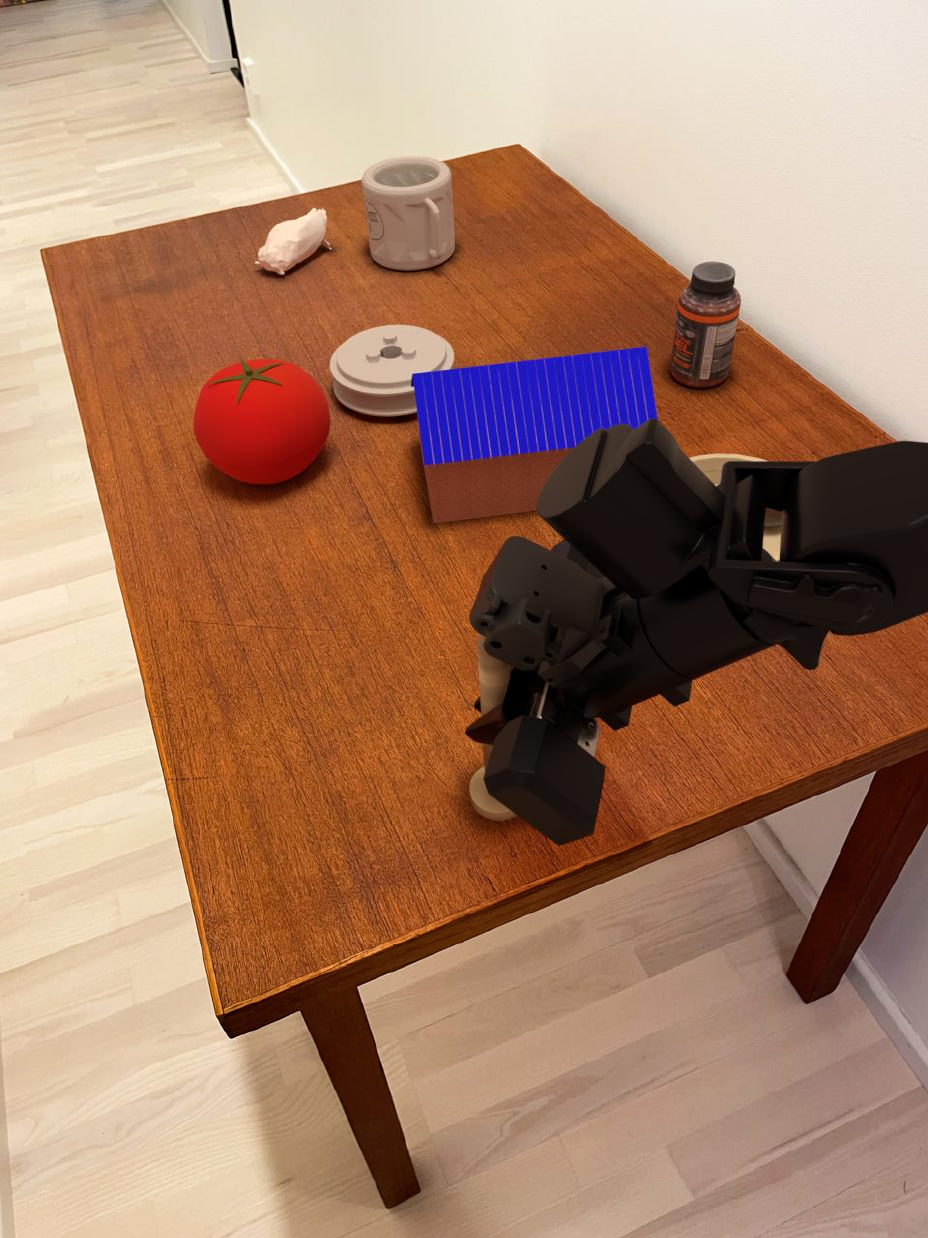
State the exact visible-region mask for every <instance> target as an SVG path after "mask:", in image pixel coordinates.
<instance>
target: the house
mask: <svg viewBox="0 0 928 1238" xmlns="http://www.w3.org/2000/svg"><path fill="white" fill-rule="evenodd" d="M411 387H414V391H415V399H416V407H417V412H416V415H417V417H416V418H417V425H418V436H419V447H420V453H421V459H422V465H423V470H424V471H423V472H424V476H425V481H426V487H427V488H426V489H427V493H428V499H429V505H430V510H431V511H430V512H431V517H432V523H433V524H440V523H448V522H449V523H450V522H457V521H465V520H472V519H481V518H489V517H497V516H505V515H513V514H520V513H529V512H537V510H536V506H537V500H538V497H539V494H540V492H541V490H542V488H543V486H544V484H545V483H546V481H547V480H548V478H549V477H550V475H551V474H552V472H553V471H554V470H555V469H556V467H557V466H558V465H559V463H560V462H561V461H562V460H563V459H564V458H565V457H566V456H567V455H568V454H569V452H570V451H572V450H573V449H574V448H575V447H576V446H577V445H578V444H579V443H580V442H581V441H583V440H584V439H585V438H586V437H588V436H589V435H590V434H592V433H593V432H595V431H596V430H598V429H599V428H603V429H604V430H605V429H608V428H610V427H612V426H614V425H618V424H629V425H630V426H631V427H632V428H633V429H635V428H637V427H638V426H640V425H641V424H643V423H644V422H646V421H647V420H649V419H650V418H654V419H658V413H657V406H656V400H655V393H654V387H653V381H652V373H651V367H650V359H649V354H648V347H647V346H640V347H631V348H624V349H613V350H604V351H596V352H587V353H579V354H571V355H561V356H552V357H545V358H536V359H535V358H534V359H528V360H527V359H526V360H519V361H510V362H502V363H501V362H500V363H494V364H484V365H474V366H467V367H458V368H453V369H448V370H440V371H431V372H422V373H414V374H412V380H411Z"/></svg>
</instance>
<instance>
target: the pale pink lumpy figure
mask: <svg viewBox="0 0 928 1238" xmlns="http://www.w3.org/2000/svg"><path fill="white" fill-rule="evenodd" d="M327 225H328V216H327V211H326V210H325V209H324V207H322V208H321V209H320V208H318V209H317V208H316V207H312V209H311V210H310V211H309V212H308V213H307V214H305V215H302V216H299V217H298V218H296V219H290V220H285V221H281V222H280V223H277V224H276V225H274V226H273V227H272V228H271V230H270V231H269V232H268V235H267V237H266V240H265V244H264V245H263V246H262V247H260V248H259V249H258V252H257V255H258V256H257V259H258V260H256V261H255V262H254V264H255V265H258V266H260V267H262V268H264V269H265V270H266V271H268V272H275V273H276V274H278V275H280V276H284V275H285V272H287V271H288V270H291V269H292V268H293V267H295V266H296V264H300V263H302V262H303V261H305V260H306V259H307V258H309V257H310V256H312V255H313V254H314V253H316V251H317V250H318V248H319V247H322V246H323V247H324V248H326V249H328V250H329V251H332V249H333V248H332V247H331V244H330V242H329V241H328V240H327V239H325V235H326V232H327Z"/></svg>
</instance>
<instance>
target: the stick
mask: <svg viewBox="0 0 928 1238" xmlns="http://www.w3.org/2000/svg"><path fill="white" fill-rule="evenodd" d="M485 638H486V637H485V636H483V635H481V634H479V636H478V638H477V642H476V648H477V666H478V683H479V684H478V685H479V696H480V701H481V713H480V717H481V716H483V715H485V714H486V713H488V712H489V711H491V710H492V709H494V708H496V707H497V706H499V705H500V704H502V701H503V698H504V694H505V691H506V688H507V685H508V681H509V678H510V665H509V664H507V663H505V662H502V661H500V660H498V659H496V658H494V657H492V656H490V655H488V654H487V653H486V651H485V649H484V647H483V644H484V641H485ZM482 747H483V748H482V749H483V750H482V751H483V766H482V767H479V769H477V770H476V771H475V772H474V774H472V777H471V778H470V781H469V784H468V785H469V786H468V792H469V801H470V804H471V806H472V809H474V811H475V812H476V813H477V814H478V815H480V816H481V817H483V818H484V819H487V820H490V821H495V822H504V821H509V820H512V819H514V818H516V817H518V816H517V815H516V814H515V813H513V812H512V811H511V810H509V809H508V808H507V807H505V806H504V805H503V804H501V803H500V802H499V801H497V800H496V799H495V798H493V797H492V796H491V795H489V794H488V791H487V788H486V785H485V782H484V780H483V778H484V774H485V771H486V768H487V764H488V761H489V758H490V754H491V751H492V748H493V745H489V744H482Z"/></svg>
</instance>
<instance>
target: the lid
mask: <svg viewBox="0 0 928 1238" xmlns="http://www.w3.org/2000/svg"><path fill="white" fill-rule="evenodd" d="M329 360H330V361H329V370H330V374H331V376H332V378H333V384H332V388H333V392H334V395H335V397H336V398H337V400H338V401H339V402H340V403H341V404H342V405H343V406H345V407H346V408H348V409H350V410H352V411H354V412H356V413H361V414H362V415H368V416H374V417H399V416H407V415H411V414H415V413H416V414H417V407H416V399H415V391H414V387H411V380H412V374H414V373H422V372H431V371H440V370H448V369H454V367H453V366H454V364H455V352H454V349H453V346H451V343H450V342H449V341H447V340H446V339H445V338H444V337H442V336H440V335H439V334H436V333H435V332H433V331H431V330H429V329H427V328H423V327H421V326H415V325H410V324H388V325H380V326H376V327H371V328H368V329H365V330H362V331H359V332H358V333H356V334H353V335H352V336H351V337H349V338H348V339H347V340H345V341H344V342H343V343H342V344H340V345H339V346H338V348H336V349H335V351H334V352H333V354H332V355H331V358H330V359H329Z"/></svg>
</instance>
